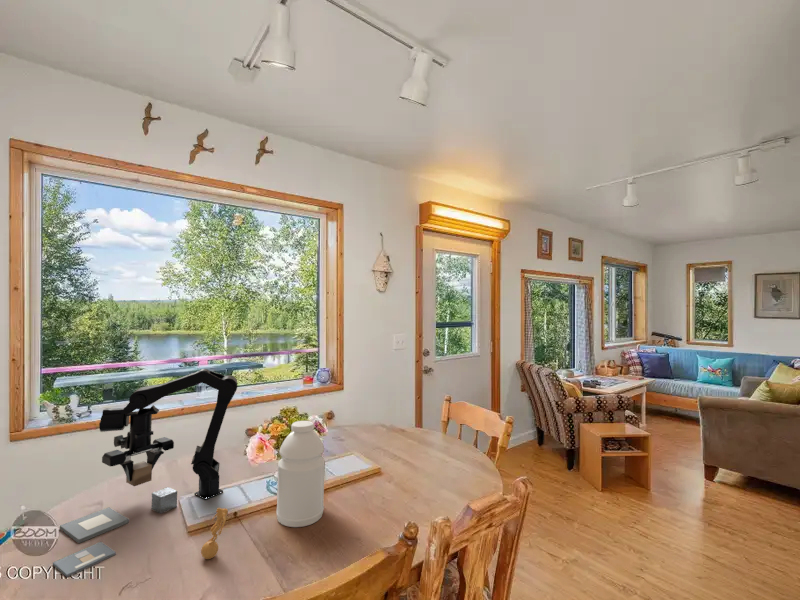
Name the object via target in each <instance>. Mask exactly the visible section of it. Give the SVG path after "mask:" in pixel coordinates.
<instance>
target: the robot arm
mask: <svg viewBox="0 0 800 600" xmlns="http://www.w3.org/2000/svg"><path fill="white" fill-rule="evenodd" d="M199 384H205V385H207V386H208V387H211V388H213V389H214V390H218V391H217V397H216V398H217V399H216V404H215V407H214V409H213V414H212V417H211V419H210V423H209V426H208V428H207V432H206V435H205V437H204V441H203V442H202V445H196V448H195V451H194V455H193V457H192V459H191V460H192V461H191V463H190V464H191V465H192V471H193V473H194V474H196V475H197V476H198V491H196V492H194V495H195V494H197V495H199V496H201V497H203V498H206V497H207V498H208V497H211V496H213V495H215V496H217V495H216V494H218V493H220V492H222V493H224V490H223V489H222V488H221V489H220V474H219V473H220V472H219V471H220V465H221V464H220V462H218V460H216V459H215V458H214V456H215V455H214V454H215V448H216V443H217V441H218V440H217V439H218V437H219V434H220V431H221V428H222V424H223V422H224V419H225V415H226V412H227V408H228V407H229V405H230V402H231V401H232V400H233V397H234V396H235V394H236V392H237V390H238V379H237V378H236V377H235V376H233V375H224V374H221V373H218V372H214V371H211V370H209V369H208V368H201V369H199V370H198V371H195V372H192V373H190V374H187V375H184V376H181V377H178V378H176V379H173V380H170V381H167V382H164V383H160V384H153V385H147V386H142V387H139V388H137V389H136V390H135V391H134V392H132V393H131V395H130V396H129V400H128V403H126V405H125V406H124V407H122V408H121V407H120V408H119V407H118V408H109V407H108V408H104V409H103V410H102V414H101V417H100V421H99V425H98V426H99V427H98V428H99V431H100V433H103V432H104V433H105V432H116V431H124V429H125V427H129V431H127V434H126V436H125V437H124V435H123V434H120V435H117V436H114V437H113V445H114V447H115V448H116V447H120V449H122V450H123V449H126V451H121V450H119V449H116V450H115V449H114V450H111V451H107V452H104V454H103V455H102V457H101V463H102V464H104V465H107V466H109V467H115V466H119V465H120V466H121V467H122V469H123V471H124V474H125V477H126V476H127V479H128V481H131V480H132V475H133V464H135V463H134V461H133V460H132V459H131V457H133V456H137V455H141V454H143V453H145V455H146V462H147V463H149V464H152V470H153V469H154V467H155V466H156V463H157V462H158V460H159V459H160V457H161V456H162V455H163V454H164V453H165V452H166V451H169V450H172V449H174V448H175V442H174V440H173V439H171V438H168V437H167V436H166V437H165V436H164V437H160V438H156V439H154V440H153V441H152V435H154V430H152V422H153V415H157V414H159V412H160V409H159V408H157V407H156V406H155V405H154V404H155V403H156V402H158V401H160V400H161V399H162V398H164V397H166V396H170V395H173V394H174V393H177V392H180V391H183V390H185V389H188V388H191V387H194V386H196V385H199ZM150 405H151V407H149V406H150ZM135 410H137V411H135ZM220 494H221V493H220ZM218 495H219V494H218ZM199 496H198V497H199ZM201 497H200V498H201ZM213 497H214V496H213ZM203 498H202V499H203ZM211 498H212V497H211Z"/></svg>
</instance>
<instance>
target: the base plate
mask: <svg viewBox="0 0 800 600" xmlns="http://www.w3.org/2000/svg"><path fill="white" fill-rule="evenodd" d="M128 523H130V519H129V518H128V517H127V516H125V515H123V514H121V513H120V512H118V511H116V510H115V509H113V508H112V507H106V508H103V509H101V510H98V511H95V512H93V513H90V514H87V515H85V516H82V517H79V518H76V519H74V520H71V521H68V522H65V523H63V524H61V525H59V530H60V529H61V530H60V531H62V530H63V531H64V532H65V534H66V535H67V536H68V535H69V536H68V537H69V538H71V539H72V538H73V539H72V540H73V541H75V542H76V543H78V544H81V543H83V542H85V541H87V540H91V539H92V538H95V537H99V536H100V535H102V534H105V533H107V532H109V531H111V530H114V529H117V528H119V527H121V526H124V525H127V524H128ZM63 531H62V532H63ZM64 532H63V533H64Z"/></svg>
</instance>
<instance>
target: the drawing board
mask: <svg viewBox="0 0 800 600" xmlns="http://www.w3.org/2000/svg"><path fill="white" fill-rule="evenodd" d="M116 553H117V552H116V551H115V550H114V549H112V548H111V547H110V546H108V545H106V544H105V543H104V542H102V541H99V542H97V543H94V544H92V545H90V546H88V547H85V548H84V549H80V550H79V551H76V552H74V553H71V554H70V555H69V554H68V555H67V556H65V557H62V558H61V559H57V560H55V561H53V562H52V566H54V567H55V568H56V569H57V570H58V569H59V570H58V571H59V572H61V573H62V575H63V576H65V577H66V578H69V577H70V576H73V575H75V574H77V573H79V572H81V571H84V570H86V569H87V568H88V569H89V568H90V567H92V566H95V565H97V564H99V563H100V562H103V561H105V560H107V559H109V558H111V557H114V556H115V555H117V554H116Z"/></svg>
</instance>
